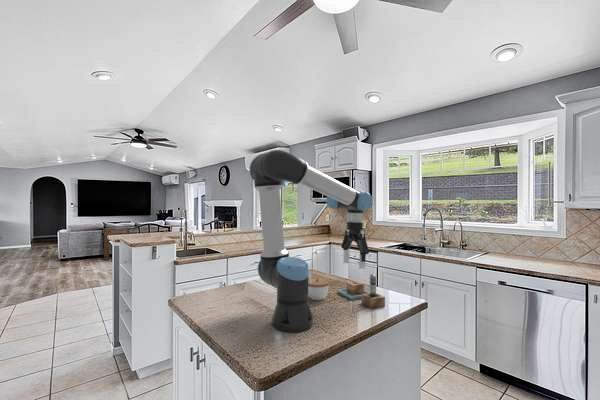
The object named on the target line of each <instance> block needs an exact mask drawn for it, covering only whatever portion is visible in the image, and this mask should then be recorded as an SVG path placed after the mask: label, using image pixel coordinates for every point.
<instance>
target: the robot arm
mask: <svg viewBox="0 0 600 400" xmlns="http://www.w3.org/2000/svg"><path fill="white" fill-rule="evenodd" d="M248 169H249V170H248V171H249V175H250V177H251V179H252V180H253V181H254V182H253V183H254V188H255V190H257V192H258V195H259V196H258V197H259V208H260V220H261V232H262V233H261V235H262V244H263V246H262V248H263V250H262V252H261V253H260V254H259V255H260V256H259V257H260V260H259V262H258V264H257V275H258V276H259V278H260V280H262V281H263V282H264V283H265V284H266V285H269V286H271V287H272V288H275V289H276V304H275V307H274V310H273V313H272V317H271V325H272V327H273V328H274V329H276V330H278V331H280V332H281V331H282V332H284V333H299V332H300V333H301V332H303V331H307V330H309V329H311V328H312V327H313V325H314V317H313V313H312V310H311V308H310V304H309V295H308V280H309V274H310V271H309V265H308V262H307V261H306V260H305V259H302V258H299V257H295V256H290V254H289V253H290V252H289V250H288V249H286V248H285V247H286V246H285V237H284V224H283V212H282V201H281V200H282V198H281V189H282V188H283V187H284V182H289V183H292V184H294V185H298V184H300V185H302V186H305V187H306V188H309V189H311V190H313V191H315V192H318V193H319V194H322V195H324V196H325V197H326V205H327V207H328V208H329V209H331V210H347V211H346V213H347V217H346V220H347V222H346V229H347V230H345V231H344V237H343V239H342V241H341V242H342V243H341V246H340V247H341V248H342V249H343V264H349V263H350V247H351V245H352V243H353V242H354V243H355V244H356V246H357V247H358V250H359V254H358V255H359V257H358V258H359V259H358V260H359V262H358V263H359V264H358V269H359V270H361V269H362V270H363V269H366V259H367V256H366V255H368V254H369V253H370V251H369V247H368V242H367V239H366V233H365V232H362V231H363V229H364V223H363V221H364V211H366V210H369V209H371V207H372V205H373V197H372V195H371V194H370V193H369V192H367V191H366V192H365V191H363V190H361V189H354V188H352V187H350V186H348V185H346V184H345V183H342V182H341V181H339V180H338V179H337V180H336V179H335V178H333V177H331V176H329V175H328V174H326V173H324V172H321V171H319V170H317V169H316V168H314V167H311V166H309V163H308V162H307V161H306V160H304V159H302V158H301V157H299V156H296V155H294V154H293V153H290V152H288V151H284V150H281V149H274V150H271V151H268V152H264V153H260V154H259V155H257V156H255V157H254V158H253V159H252V160H251V161H250V164H249V168H248Z"/></svg>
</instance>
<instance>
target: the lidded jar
mask: <svg viewBox="0 0 600 400" xmlns="http://www.w3.org/2000/svg"><path fill="white" fill-rule="evenodd" d="M329 283H330V282H329V280H327V279H324V278H319V277H316V278H311V279H309V278H308V297H309V298H310V299H311V300H313V301H323V300H324V299H325V298H326V296H327V295H328V292H329V287H330V286H329Z"/></svg>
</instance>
